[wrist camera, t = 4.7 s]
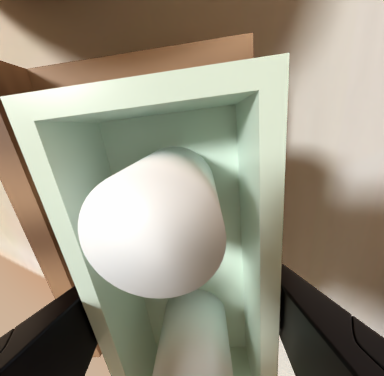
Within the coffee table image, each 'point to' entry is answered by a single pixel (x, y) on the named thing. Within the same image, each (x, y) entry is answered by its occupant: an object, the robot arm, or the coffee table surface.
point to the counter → (75, 75)
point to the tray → (120, 140)
